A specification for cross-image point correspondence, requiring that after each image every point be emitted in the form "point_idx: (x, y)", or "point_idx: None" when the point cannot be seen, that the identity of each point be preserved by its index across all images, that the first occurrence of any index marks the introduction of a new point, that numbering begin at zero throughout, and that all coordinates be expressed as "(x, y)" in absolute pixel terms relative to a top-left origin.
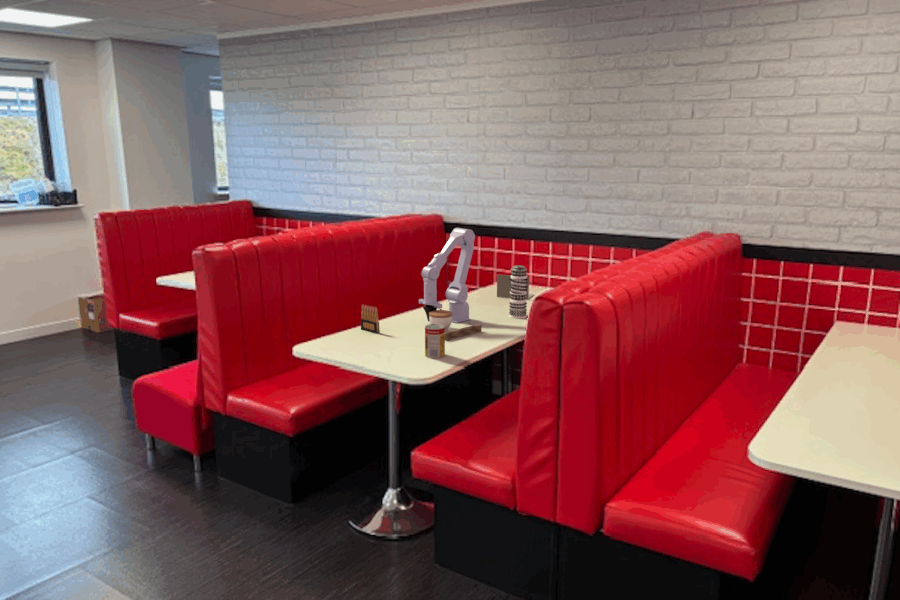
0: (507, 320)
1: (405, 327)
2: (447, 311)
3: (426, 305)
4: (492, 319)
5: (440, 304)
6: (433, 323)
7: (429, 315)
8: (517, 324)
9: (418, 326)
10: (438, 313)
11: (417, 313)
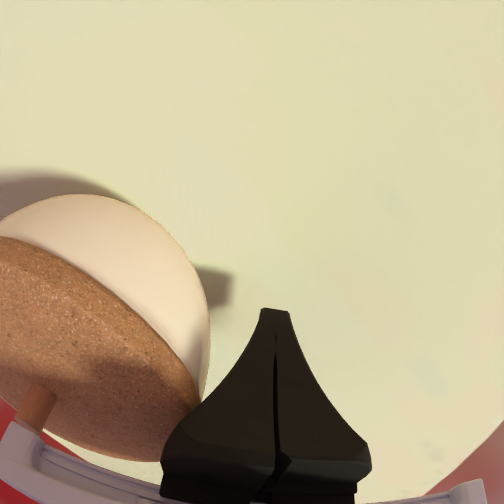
0: (103, 459)
1: (460, 104)
2: (57, 429)
3: (326, 498)
4: (140, 463)
5: (2, 479)
6: (55, 198)
7: (74, 269)
8: (48, 433)
9: (369, 215)
10: (2, 343)
11: (491, 411)
